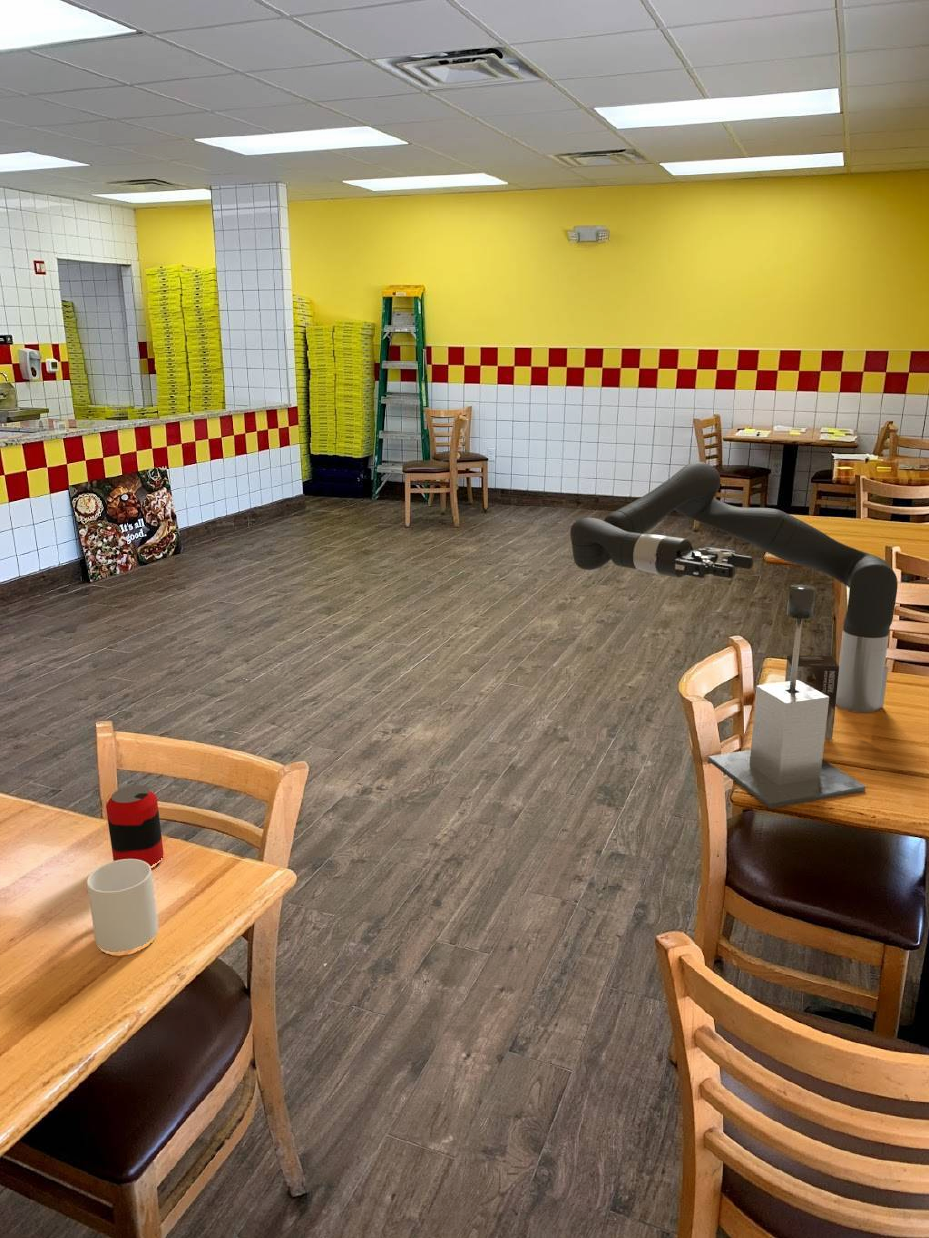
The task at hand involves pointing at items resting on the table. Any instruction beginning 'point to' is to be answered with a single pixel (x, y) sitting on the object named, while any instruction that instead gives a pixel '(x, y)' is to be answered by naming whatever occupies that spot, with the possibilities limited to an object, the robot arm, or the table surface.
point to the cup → (122, 904)
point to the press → (787, 750)
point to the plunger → (799, 620)
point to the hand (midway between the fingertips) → (743, 567)
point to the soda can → (135, 825)
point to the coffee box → (818, 681)
